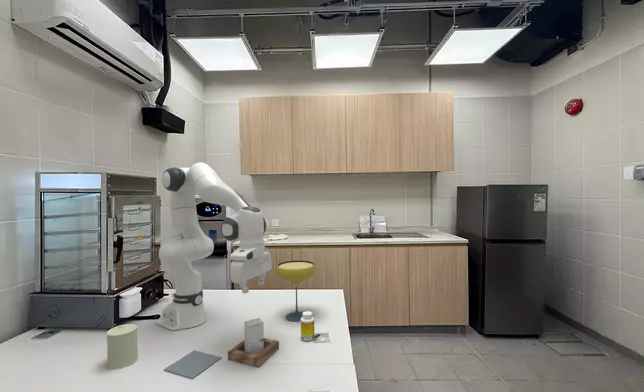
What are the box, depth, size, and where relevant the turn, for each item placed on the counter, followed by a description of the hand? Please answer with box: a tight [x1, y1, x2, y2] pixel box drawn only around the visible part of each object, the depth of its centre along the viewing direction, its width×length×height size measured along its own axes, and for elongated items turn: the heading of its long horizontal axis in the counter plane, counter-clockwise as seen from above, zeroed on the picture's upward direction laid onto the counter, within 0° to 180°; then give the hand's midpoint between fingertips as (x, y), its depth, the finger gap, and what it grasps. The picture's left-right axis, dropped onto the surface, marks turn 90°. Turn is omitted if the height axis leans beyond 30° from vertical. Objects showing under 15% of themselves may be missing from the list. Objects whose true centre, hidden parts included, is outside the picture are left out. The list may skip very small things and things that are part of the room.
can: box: [106, 323, 139, 370], centre depth 105 cm, size 9×9×12 cm
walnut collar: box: [227, 337, 280, 368], centre depth 108 cm, size 13×13×3 cm
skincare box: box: [243, 318, 265, 355], centre depth 108 cm, size 6×4×12 cm
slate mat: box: [163, 350, 222, 380], centre depth 102 cm, size 13×13×1 cm
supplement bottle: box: [300, 311, 315, 342], centre depth 119 cm, size 6×6×10 cm
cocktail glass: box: [276, 260, 316, 323], centre depth 141 cm, size 18×18×25 cm
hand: (253, 288), depth 108 cm, fingers open, 8 cm apart
